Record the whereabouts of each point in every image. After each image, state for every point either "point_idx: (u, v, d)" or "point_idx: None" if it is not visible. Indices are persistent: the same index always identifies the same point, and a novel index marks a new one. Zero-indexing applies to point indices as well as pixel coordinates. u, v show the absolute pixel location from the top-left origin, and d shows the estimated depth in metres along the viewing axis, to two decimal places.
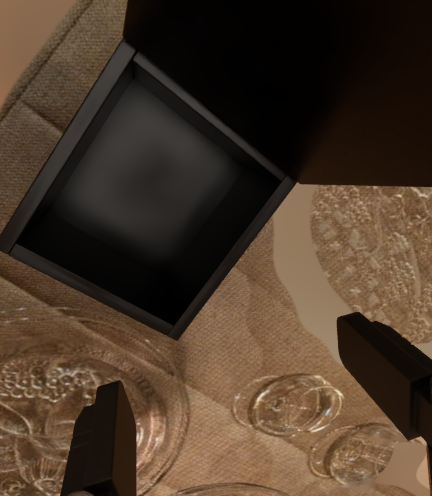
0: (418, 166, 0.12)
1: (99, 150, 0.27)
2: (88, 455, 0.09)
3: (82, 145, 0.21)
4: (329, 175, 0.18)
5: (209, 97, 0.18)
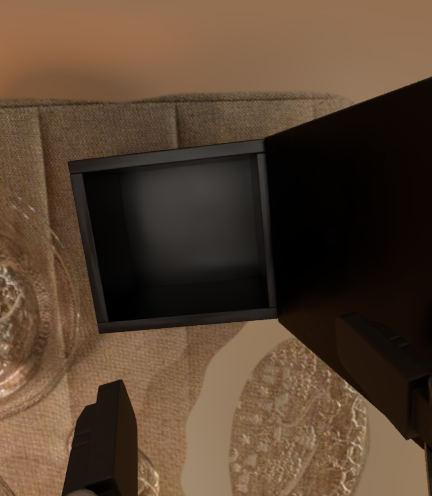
0: None
1: (186, 175, 0.32)
2: (89, 454, 0.09)
3: (180, 163, 0.26)
4: (304, 332, 0.21)
5: (278, 216, 0.22)
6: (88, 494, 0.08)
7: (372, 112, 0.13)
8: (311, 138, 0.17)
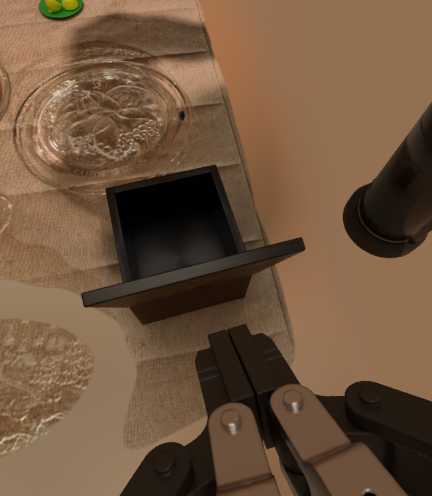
0: None
1: (217, 249, 0.45)
2: (225, 381, 0.10)
3: (225, 230, 0.40)
4: None
5: None
6: (239, 406, 0.09)
7: None
8: None
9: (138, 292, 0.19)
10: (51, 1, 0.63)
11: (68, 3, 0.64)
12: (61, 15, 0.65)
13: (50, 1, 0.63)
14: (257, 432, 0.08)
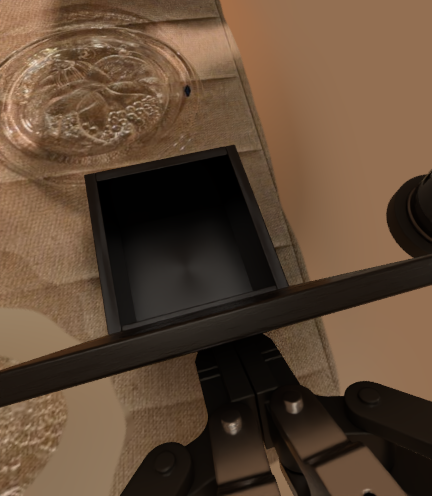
0: (87, 343, 0.13)
1: (233, 258, 0.34)
2: (225, 381, 0.10)
3: (248, 234, 0.29)
4: None
5: None
6: (239, 406, 0.09)
7: (361, 270, 0.14)
8: (312, 281, 0.18)
9: (106, 375, 0.08)
10: None
11: None
12: None
13: None
14: (257, 432, 0.08)
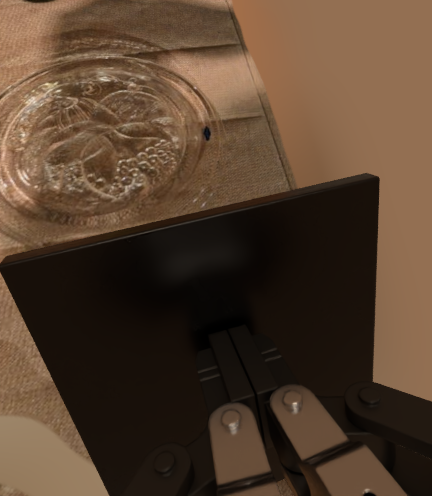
0: None
1: None
2: (225, 381, 0.10)
3: None
4: None
5: None
6: (239, 406, 0.09)
7: None
8: None
9: (96, 243, 0.11)
10: None
11: None
12: None
13: None
14: (257, 432, 0.08)
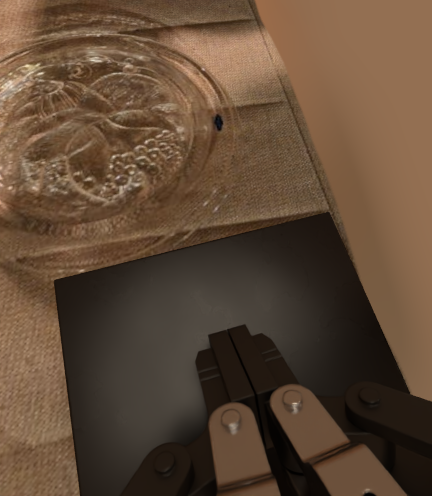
0: None
1: None
2: (225, 381, 0.10)
3: None
4: None
5: None
6: (239, 406, 0.09)
7: None
8: None
9: (122, 263, 0.15)
10: None
11: None
12: None
13: None
14: (257, 432, 0.08)
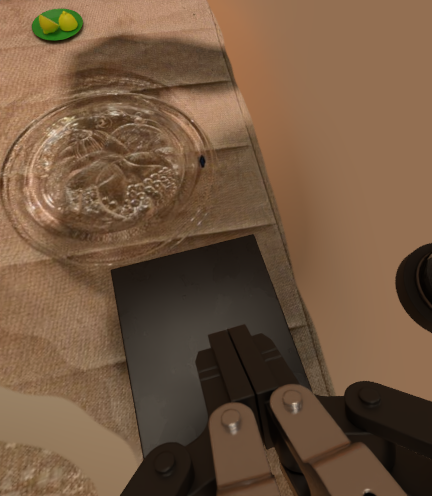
0: None
1: None
2: (225, 381, 0.10)
3: None
4: None
5: None
6: (239, 406, 0.09)
7: None
8: None
9: (145, 261, 0.30)
10: (46, 21, 0.54)
11: (66, 23, 0.55)
12: (58, 37, 0.56)
13: (45, 21, 0.54)
14: (257, 432, 0.08)
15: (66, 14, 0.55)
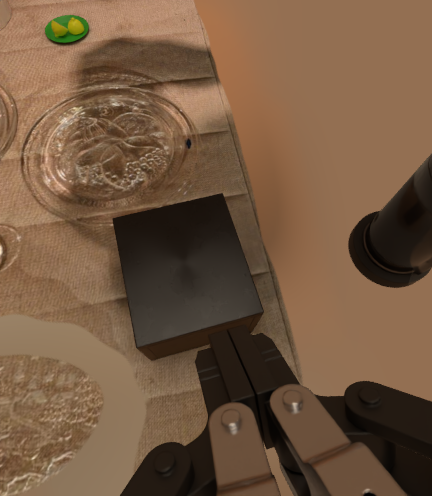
0: None
1: None
2: (225, 381, 0.10)
3: None
4: None
5: None
6: (239, 406, 0.09)
7: None
8: None
9: (138, 212, 0.39)
10: (57, 26, 0.63)
11: (74, 28, 0.65)
12: (67, 39, 0.65)
13: (56, 26, 0.63)
14: (257, 432, 0.08)
15: (74, 20, 0.64)
